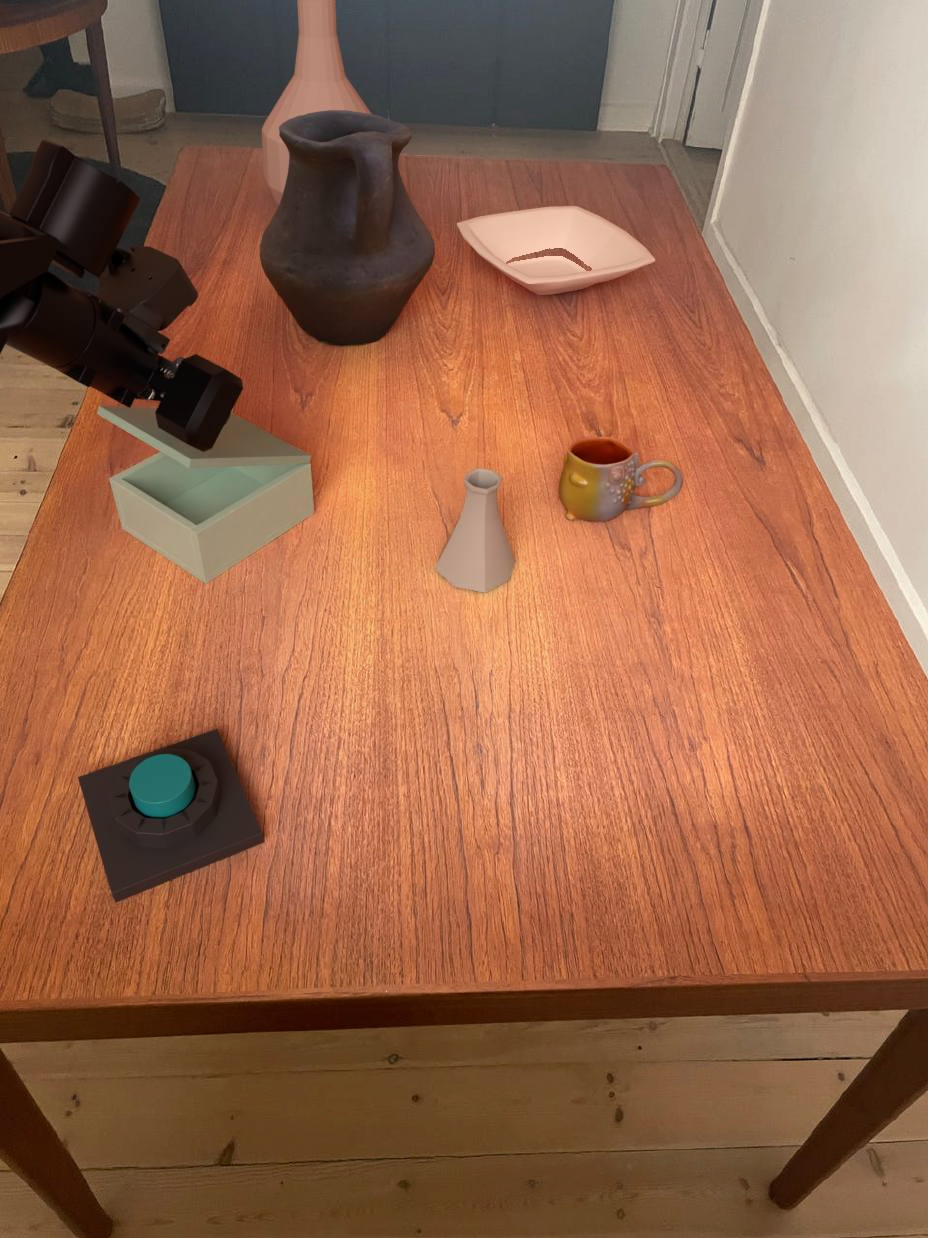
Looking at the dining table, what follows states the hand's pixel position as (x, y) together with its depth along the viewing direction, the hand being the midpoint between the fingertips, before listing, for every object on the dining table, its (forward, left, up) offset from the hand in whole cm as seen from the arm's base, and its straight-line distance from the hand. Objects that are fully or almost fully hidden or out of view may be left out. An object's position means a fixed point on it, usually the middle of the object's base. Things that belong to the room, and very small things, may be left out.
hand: (206, 407), depth 78 cm
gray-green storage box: (0, 0, -12) cm, 12 cm away
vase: (+36, +62, -12) cm, 73 cm away
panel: (-13, -30, -12) cm, 35 cm away
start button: (-13, -30, -10) cm, 34 cm away
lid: (0, 0, -3) cm, 3 cm away
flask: (+19, -16, -12) cm, 28 cm away
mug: (+36, -14, -12) cm, 40 cm away
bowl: (+58, +33, -12) cm, 68 cm away
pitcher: (+26, +30, -12) cm, 42 cm away
